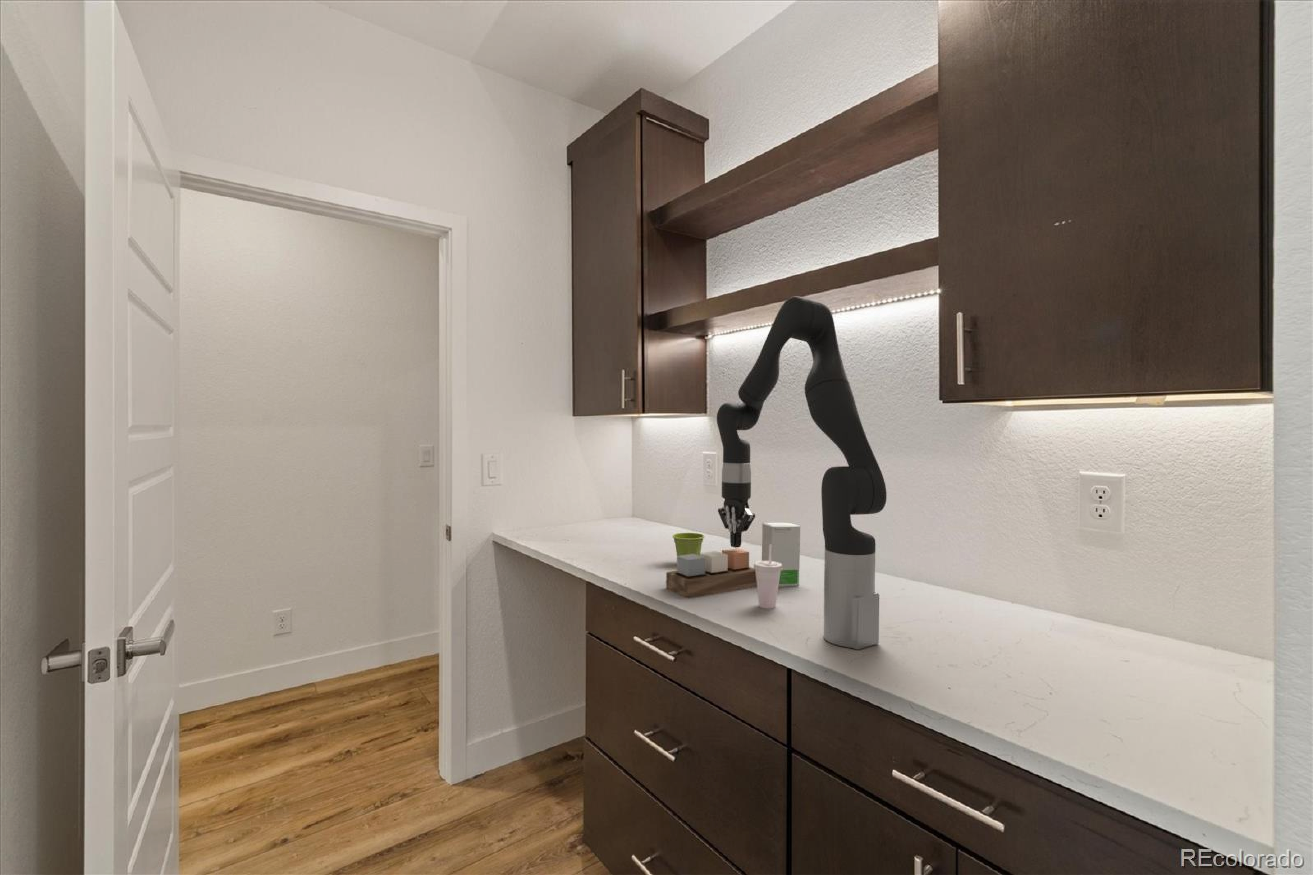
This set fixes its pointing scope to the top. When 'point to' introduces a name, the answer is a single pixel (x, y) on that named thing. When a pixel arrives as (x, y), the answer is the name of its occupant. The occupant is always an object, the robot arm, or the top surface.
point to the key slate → (691, 565)
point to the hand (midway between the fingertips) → (735, 546)
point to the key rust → (737, 558)
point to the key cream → (715, 561)
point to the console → (711, 582)
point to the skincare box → (783, 550)
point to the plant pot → (688, 543)
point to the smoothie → (767, 581)
